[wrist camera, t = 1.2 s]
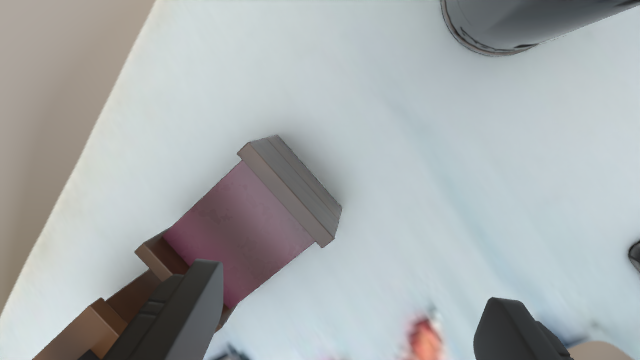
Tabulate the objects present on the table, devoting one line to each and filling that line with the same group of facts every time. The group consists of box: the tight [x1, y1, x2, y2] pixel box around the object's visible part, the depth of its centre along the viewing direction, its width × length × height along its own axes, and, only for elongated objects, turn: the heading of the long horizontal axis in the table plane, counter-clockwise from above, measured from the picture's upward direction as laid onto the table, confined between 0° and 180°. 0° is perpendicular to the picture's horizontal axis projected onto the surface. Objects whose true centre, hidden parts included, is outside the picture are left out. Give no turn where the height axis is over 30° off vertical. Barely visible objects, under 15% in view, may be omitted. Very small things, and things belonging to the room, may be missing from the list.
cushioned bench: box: [135, 135, 342, 333], centre depth 28 cm, size 13×9×8 cm
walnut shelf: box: [32, 269, 162, 360], centre depth 31 cm, size 10×8×10 cm
